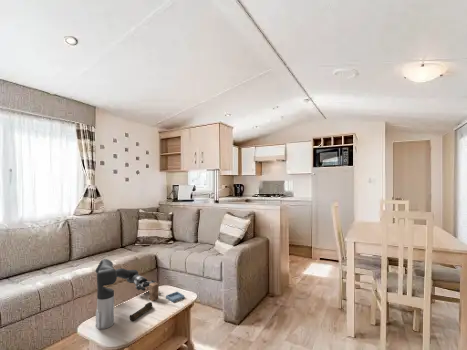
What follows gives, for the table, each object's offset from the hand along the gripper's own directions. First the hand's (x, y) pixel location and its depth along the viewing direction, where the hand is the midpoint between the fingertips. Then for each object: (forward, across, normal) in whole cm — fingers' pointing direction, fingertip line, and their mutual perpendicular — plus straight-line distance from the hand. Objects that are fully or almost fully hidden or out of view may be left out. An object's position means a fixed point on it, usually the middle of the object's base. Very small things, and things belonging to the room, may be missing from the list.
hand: (150, 287), depth 193 cm
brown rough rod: (+20, -15, +7) cm, 26 cm away
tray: (+16, +12, +6) cm, 21 cm away
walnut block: (+6, 0, +6) cm, 9 cm away
